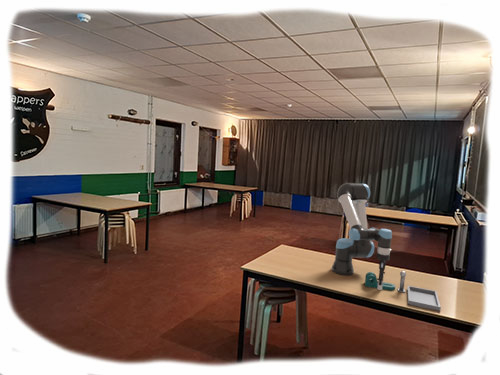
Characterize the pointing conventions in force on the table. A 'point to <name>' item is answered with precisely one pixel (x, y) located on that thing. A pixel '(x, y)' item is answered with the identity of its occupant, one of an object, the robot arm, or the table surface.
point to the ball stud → (402, 282)
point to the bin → (423, 298)
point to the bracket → (376, 282)
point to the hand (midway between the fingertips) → (380, 286)
